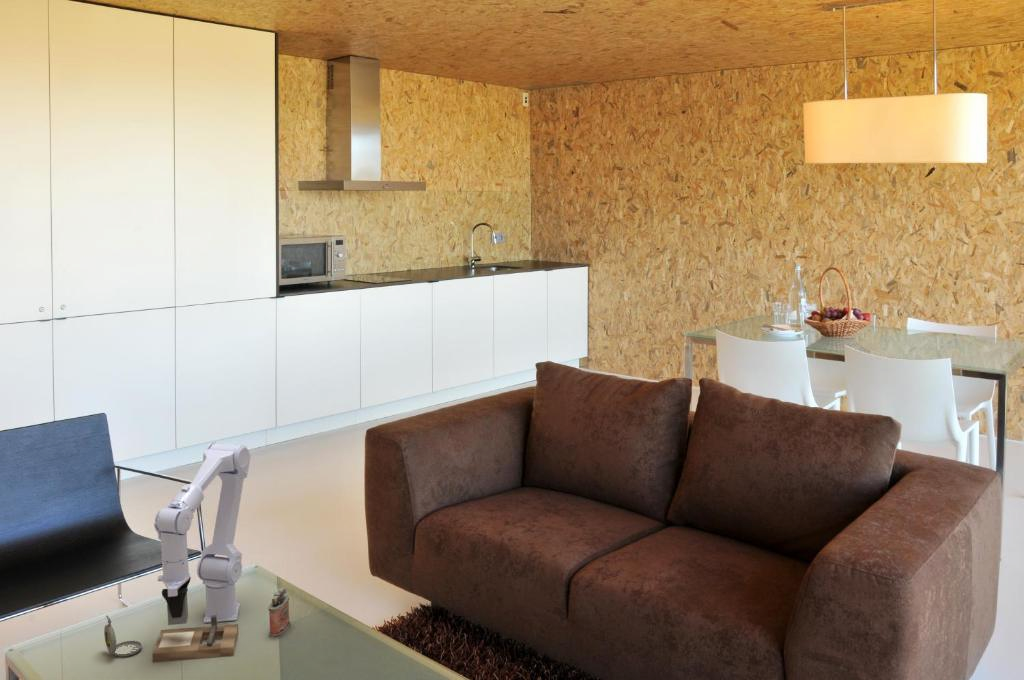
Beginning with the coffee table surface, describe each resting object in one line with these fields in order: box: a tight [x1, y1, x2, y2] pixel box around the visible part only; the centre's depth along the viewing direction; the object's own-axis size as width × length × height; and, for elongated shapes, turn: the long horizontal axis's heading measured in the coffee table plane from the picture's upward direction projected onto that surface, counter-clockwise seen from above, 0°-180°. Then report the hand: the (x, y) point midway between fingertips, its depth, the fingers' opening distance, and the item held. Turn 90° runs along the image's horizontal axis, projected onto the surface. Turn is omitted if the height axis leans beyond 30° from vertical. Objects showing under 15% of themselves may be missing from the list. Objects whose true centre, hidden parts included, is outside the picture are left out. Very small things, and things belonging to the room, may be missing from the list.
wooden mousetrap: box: [151, 615, 239, 662], centre depth 228 cm, size 12×18×5 cm, turn 101°
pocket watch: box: [103, 614, 143, 657], centre depth 224 cm, size 8×8×10 cm
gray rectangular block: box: [166, 587, 189, 626], centre depth 226 cm, size 4×4×7 cm
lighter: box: [267, 587, 291, 639], centre depth 236 cm, size 8×3×10 cm, turn 168°
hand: (178, 612), depth 226 cm, fingers closed on gray rectangular block, 4 cm apart
